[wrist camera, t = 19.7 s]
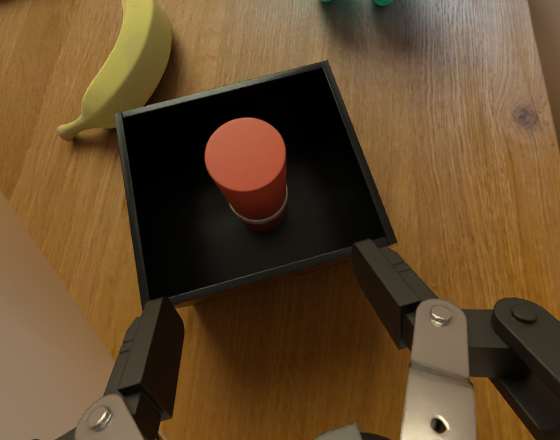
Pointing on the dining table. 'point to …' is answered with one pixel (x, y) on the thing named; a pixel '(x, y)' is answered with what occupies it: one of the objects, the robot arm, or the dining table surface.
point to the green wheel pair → (379, 0)
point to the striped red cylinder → (250, 171)
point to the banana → (126, 68)
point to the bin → (214, 206)
